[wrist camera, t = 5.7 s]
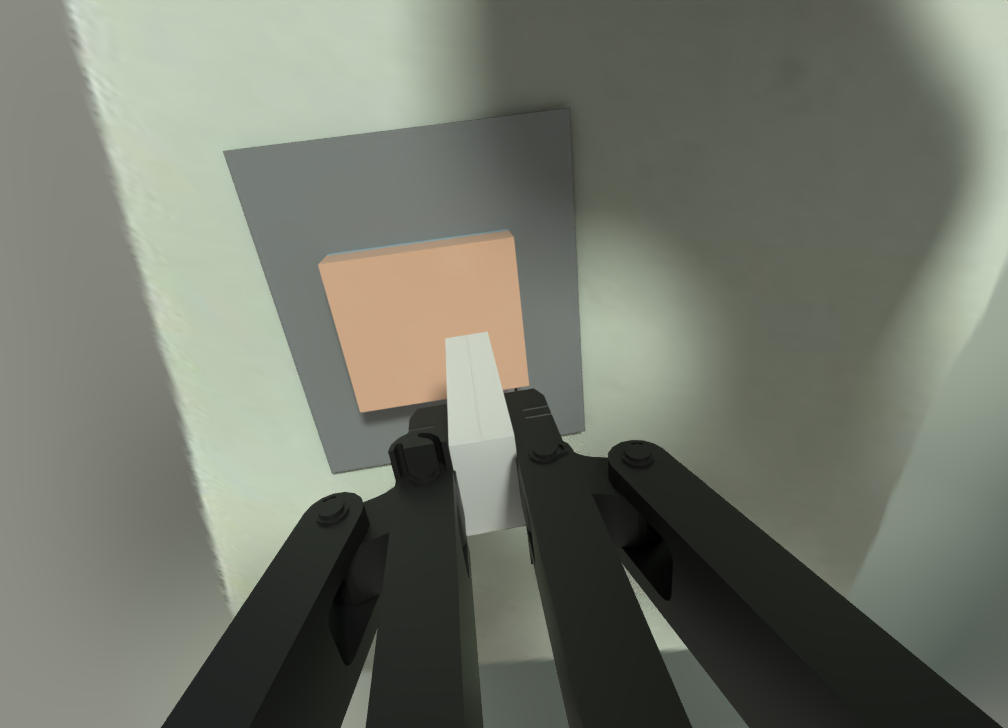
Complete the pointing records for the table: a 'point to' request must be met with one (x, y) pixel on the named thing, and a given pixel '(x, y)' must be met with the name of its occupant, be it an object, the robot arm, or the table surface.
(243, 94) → the table surface
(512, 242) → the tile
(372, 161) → the mat
